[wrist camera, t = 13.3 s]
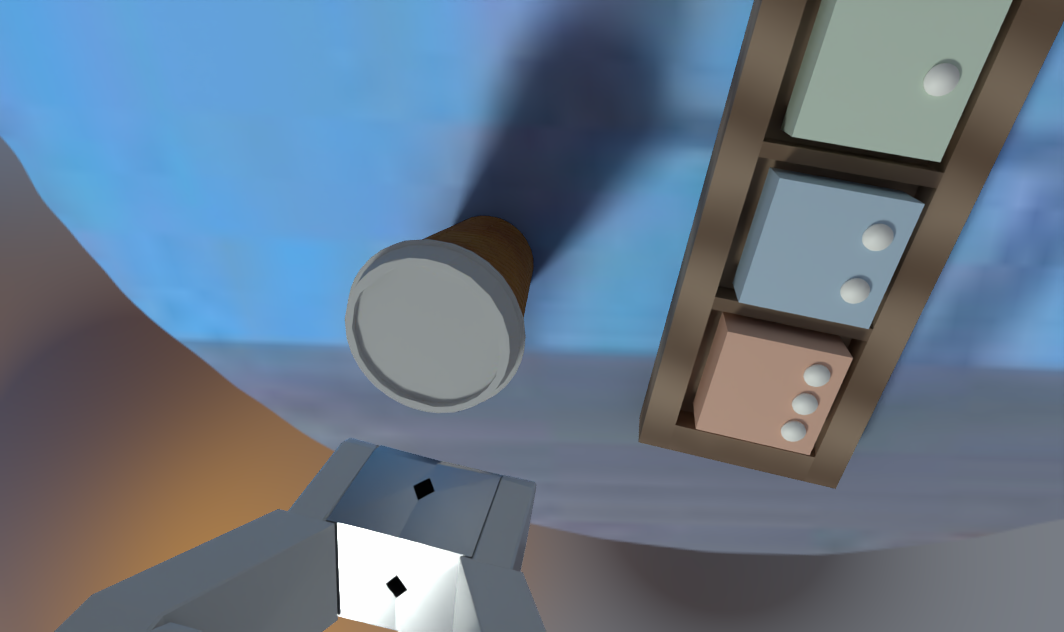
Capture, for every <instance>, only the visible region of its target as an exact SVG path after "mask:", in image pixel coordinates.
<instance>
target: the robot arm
mask: <svg viewBox="0 0 1064 632" xmlns="http://www.w3.org/2000/svg"><path fill="white" fill-rule="evenodd" d="M535 492H536V483H535V482H533V481H528V480H524V479H519V478H515V477H510V476H506V475H500V474H495V473H491V472H487V471H482V470H478V469H474V468H469V467H465V466H461V465H456V464H452V463H448V462H443V461H438V460H435V459H431V458H427V457H423V456H420V455H416V454H412V453H408V452H405V451H401V450H397V449H393V448H389V447H386V446H382V445H381V446H379V445H375V444H371V443H368V442H364V441H360V440H357V439H353V438H349V439H347V440H346V441H344V442H342V443H341V444H340V446H339V447H338V448H337V449H336V451H335V452H334V453H333V455H332V456H331V457H330V458H329V460H328V461H327V462H326V463H325V465H324V466H323V467H322V468H321V470H320V471H319V472H318V474H317V475H316V476H315V477H314V479H313V480H312V481H311V483H310V484H309V485H308V486H307V488H306V489H305V490H304V491H303V493H302V494H301V495H300V496H299V498H298V499H297V500H296V501H295V503H294V504H293V505H292V507H291V508H290V509H289V510H288V511H284V510H280V509H277V510H275V511H273V512H271V513H269V514H266V515H264V516H262V517H260V518H258V519H256V520H253V521H251V522H249V523H247V524H245V525H243V526H240V527H238V528H236V529H234V530H232V531H230V532H227V533H225V534H223V535H221V536H219V537H216V538H214V539H212V540H210V541H208V542H206V543H203V544H201V545H199V546H197V547H195V548H193V549H191V550H188V551H186V552H184V553H182V554H180V555H177V556H175V557H173V558H171V559H169V560H167V561H164V562H162V563H160V564H158V565H156V566H154V567H151V568H149V569H147V570H145V571H143V572H141V573H138V574H136V575H134V576H132V577H130V578H127V579H125V580H123V581H121V582H119V583H117V584H115V585H112V586H110V587H108V588H106V589H104V590H102V591H99V592H97V593H95V594H93V595H91V596H90V597H89V598H88V599H87V600H86V601H85V602H84V603H83V604H82V605H81V606H80V607H79V608H78V609H77V610H76V611H75V612H74V613H73V614H72V615H71V616H70V617H69V618H68V619H67V620H66V621H65V622H64V623H63V624H61V625H60V626H59V627H58V628H57V629H56V631H54V632H322V631H324V630H325V629H326V628H328V627H329V626H330V625H331V624H333V623H334V622H336V621H337V619H338V616H340V617H344V618H349V619H353V620H356V621H361V622H365V623H369V624H373V625H377V626H381V627H385V628H389V629H393V630H397V631H400V632H546V630H545V627H544V625H543V622H542V620H541V617H540V615H539V612H538V610H537V607H536V605H535V602H534V600H533V597H532V595H531V592H530V590H529V587H528V585H527V582H526V579H525V577H524V574H523V572H520V571H521V566H522V561H523V557H524V551H525V547H526V542H527V537H528V531H529V525H530V520H531V514H532V509H533V503H534V497H535Z"/></svg>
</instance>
